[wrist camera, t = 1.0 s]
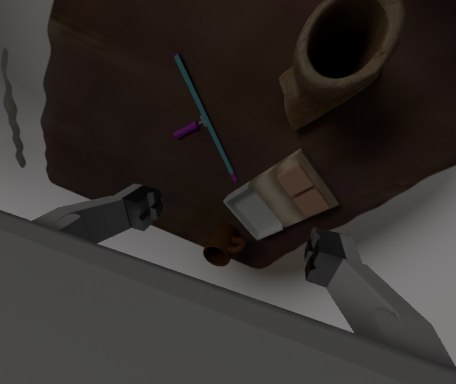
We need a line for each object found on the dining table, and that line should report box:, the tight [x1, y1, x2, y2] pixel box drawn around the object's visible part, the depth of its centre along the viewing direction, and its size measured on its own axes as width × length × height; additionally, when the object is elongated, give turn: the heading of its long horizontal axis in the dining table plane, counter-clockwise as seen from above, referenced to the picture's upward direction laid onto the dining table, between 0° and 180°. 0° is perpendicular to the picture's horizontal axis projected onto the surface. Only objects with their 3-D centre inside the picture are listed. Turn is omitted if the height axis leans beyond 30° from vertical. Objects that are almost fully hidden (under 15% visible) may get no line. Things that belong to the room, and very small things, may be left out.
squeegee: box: [174, 54, 238, 182], centre depth 43 cm, size 29×2×10 cm
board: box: [250, 148, 339, 227], centre depth 42 cm, size 13×14×2 cm
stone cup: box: [279, 0, 406, 130], centre depth 25 cm, size 15×12×15 cm
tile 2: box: [293, 185, 330, 217], centre depth 39 cm, size 5×5×2 cm
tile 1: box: [277, 162, 313, 197], centre depth 38 cm, size 5×5×2 cm
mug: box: [203, 224, 246, 266], centre depth 51 cm, size 12×8×9 cm, turn 121°
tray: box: [224, 181, 283, 240], centre depth 47 cm, size 8×14×3 cm, turn 42°
